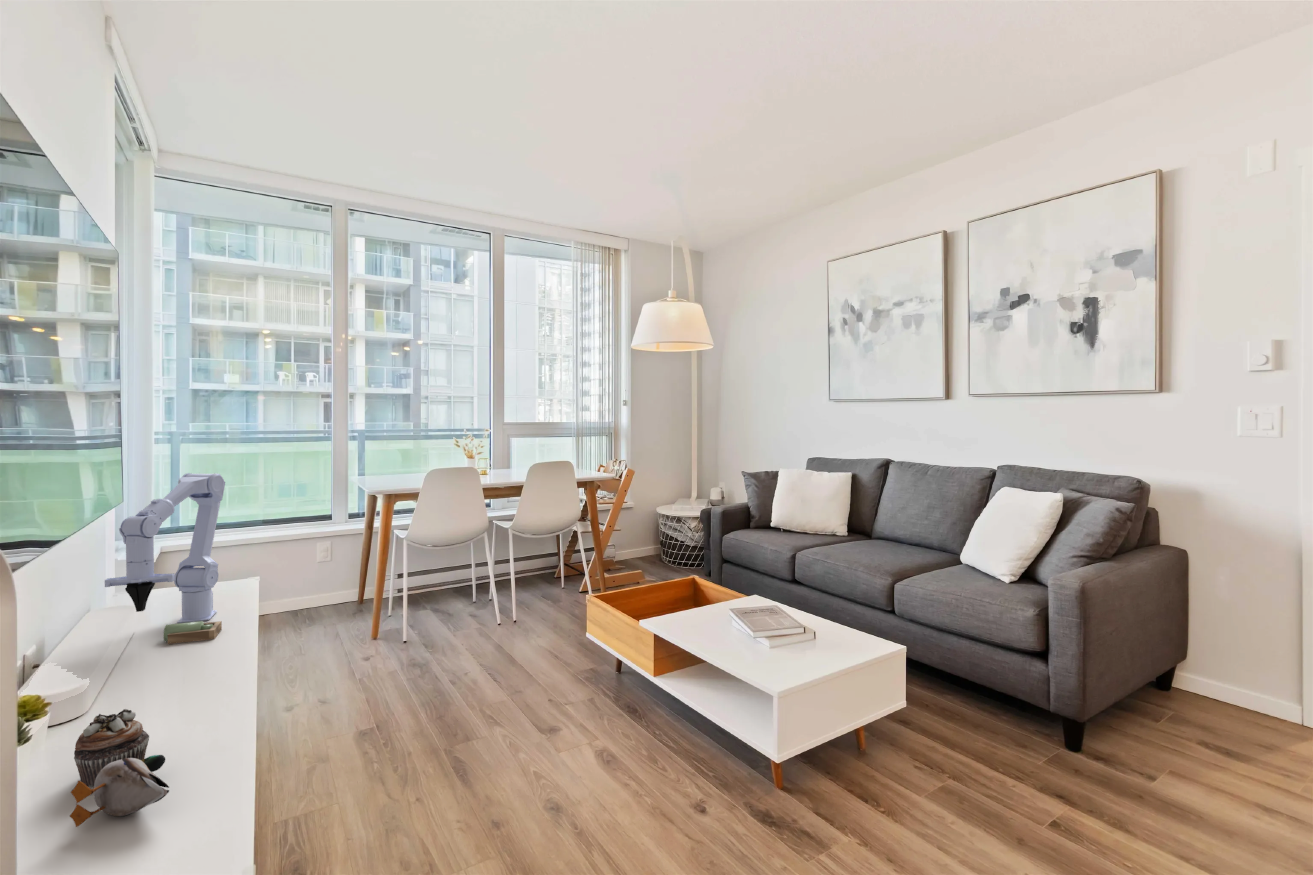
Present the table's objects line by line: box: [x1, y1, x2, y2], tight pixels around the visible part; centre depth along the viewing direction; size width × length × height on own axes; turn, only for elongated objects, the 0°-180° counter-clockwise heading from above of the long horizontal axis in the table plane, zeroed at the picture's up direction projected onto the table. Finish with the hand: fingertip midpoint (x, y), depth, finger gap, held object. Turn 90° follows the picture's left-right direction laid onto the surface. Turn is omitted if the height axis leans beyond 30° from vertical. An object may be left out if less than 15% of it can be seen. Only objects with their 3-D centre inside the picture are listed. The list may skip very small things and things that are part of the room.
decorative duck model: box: [69, 754, 170, 828], centre depth 96 cm, size 15×8×15 cm
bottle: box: [163, 621, 213, 642], centre depth 170 cm, size 4×4×10 cm
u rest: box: [167, 620, 223, 645], centre depth 171 cm, size 8×10×2 cm
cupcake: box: [73, 708, 150, 788], centre depth 104 cm, size 10×10×10 cm
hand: (140, 610), depth 166 cm, fingers closed
